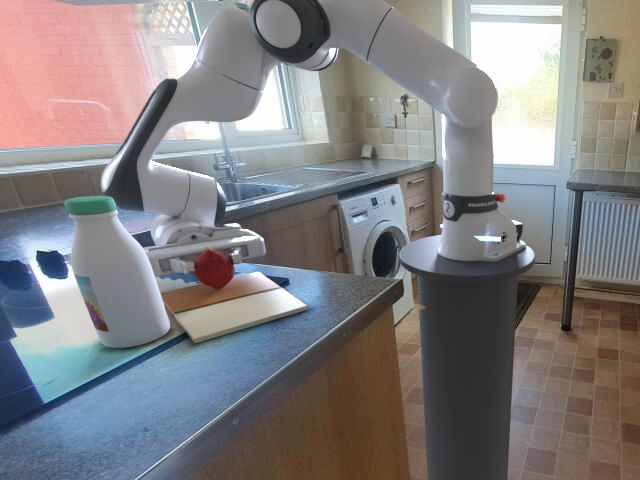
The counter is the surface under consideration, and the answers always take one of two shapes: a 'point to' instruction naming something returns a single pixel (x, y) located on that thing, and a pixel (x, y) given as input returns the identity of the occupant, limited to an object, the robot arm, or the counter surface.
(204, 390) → the counter surface
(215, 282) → the onion
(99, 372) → the counter surface
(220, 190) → the robot arm
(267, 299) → the sorting board
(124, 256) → the milk bottle
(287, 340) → the counter surface
